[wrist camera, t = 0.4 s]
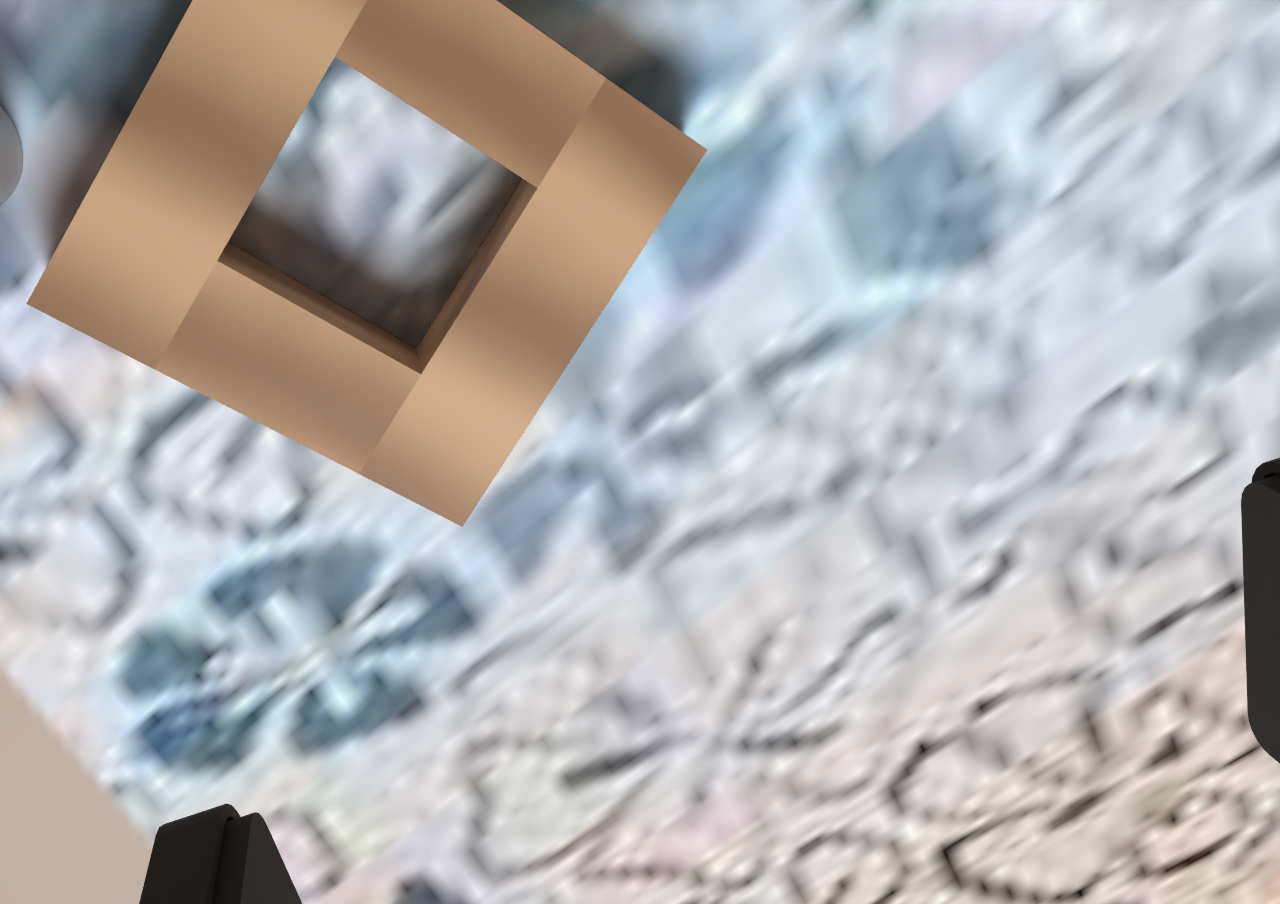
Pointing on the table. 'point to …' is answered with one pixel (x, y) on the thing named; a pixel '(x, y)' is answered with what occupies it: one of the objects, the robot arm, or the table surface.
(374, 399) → the holder
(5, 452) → the table surface
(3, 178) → the short grey peg
